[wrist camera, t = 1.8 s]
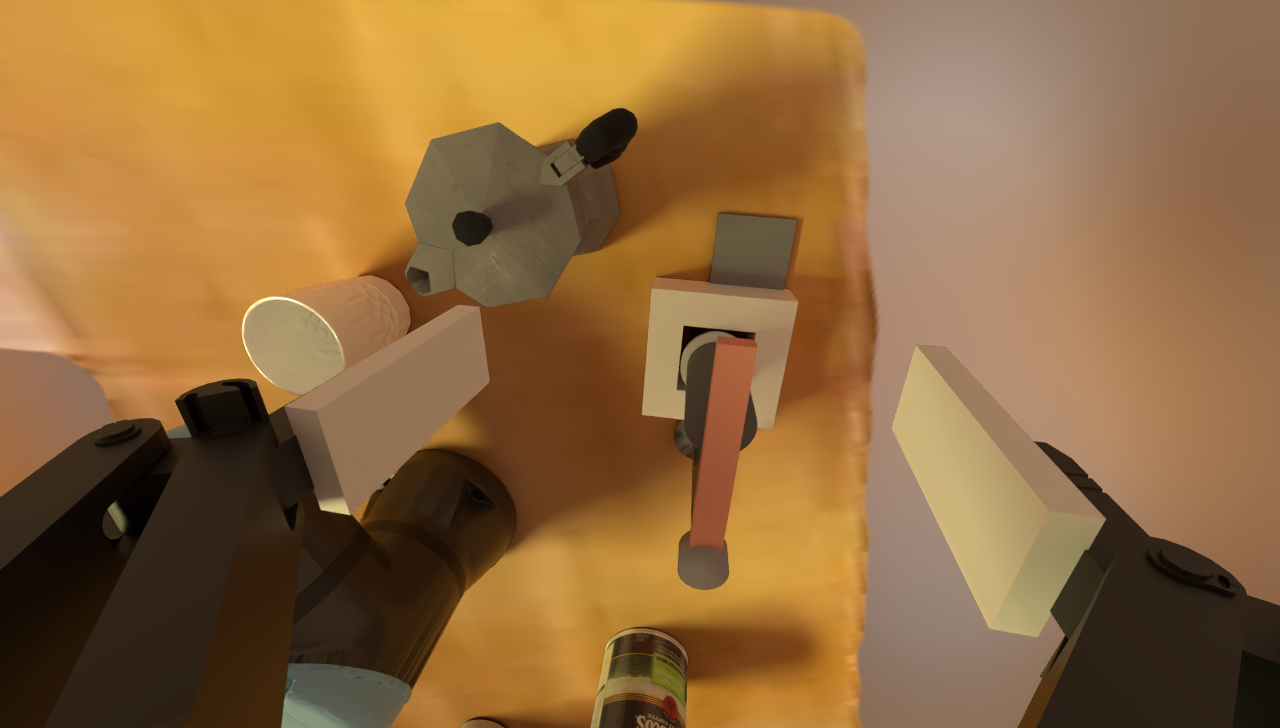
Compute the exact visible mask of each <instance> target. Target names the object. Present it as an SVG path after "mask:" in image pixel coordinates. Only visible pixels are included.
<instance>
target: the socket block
mask: <svg viewBox="0 0 1280 728" xmlns="http://www.w3.org/2000/svg"><path fill="white" fill-rule="evenodd" d="M797 307H798V301H797V299H796V298H795V297H794V295H793V294H792V293H791V291H790V290H789V289H784V290H777V289H766V288H755V287H744V286H733V285H722V284H712V283H710V282H705V281H694V280H683V279H672V278H661V277H656V278H655V281H654V284H653V286H652V291H651V304H650V316H649V329H648V342H647V355H646V367H645V380H644V393H643V406H642V415H647V416H656V417H665V418H673V419H682V420H684V414H685V395H686V385H685V383H684V381H683V379H682V376H681V371H679V362H680V353H681V344H682V334H683V326H693V327H703V328H713V329H723V330H734V331H744V332H748V337H747V339H750V340H755V342H756V345H757V354H756V360H755V365H754V371H753V377H752V382H751V388H750V391H751V395H752V400H753V404H754V408H755V412H756V417H757V428H761V429H770V430H773V425H774V420H775V415H776V410H777V405H778V401H779V396H780V391H781V386H782V381H783V376H784V371H785V366H786V361H787V356H788V351H789V346H790V342H791V337H792V332H793V327H794V322H795V317H796V312H797Z"/></svg>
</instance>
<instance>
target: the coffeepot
mask: <svg viewBox="0 0 1280 728" xmlns="http://www.w3.org/2000/svg"><path fill="white" fill-rule="evenodd" d="M637 128H638V127H637V119H636V117H635V116H634V114H633V113H632V112H630V111H628V110H626V109H625V108H618V109H613V110H611V111H609V112H608V113H606V114H604V115H602V116H601V117H599V118H597V119H595V120H594V121H592V122H591V123H590V124H589V125H588V126H587V127H586V128H585V129H584V130H583V131H582V132H581V134H580V135H579V137H578V139H577V140H576V141H574V140H573V139H569V140H565V141H561V142H556V143H552V144H548V145H544V146H540V147H535V146H533V145H532V144H530V143H529V142H527V141H526V140H524V139H522V138H521V137H520V136H518V135H517V134H515V133H514V132H512V131H511V130H510V129H508V128H507V127H505V126H504V125H502V124H501V123H499V122H498V123H494V124H490V125H486V126H482V127H478V128H475V129H471V130H467V131H463V132H459V133H455V134H451V135H447V136H444V137H440V138H436V139H432V140H431V141H430V144H429V146H428V149H427V151H426V153H425V156H424V158H423V161H422V163H421V166H420V168H419V171H418V173H417V176H416V178H415V180H414V183H413V185H412V188H411V190H410V193H409V195H408V198H407V200H406V202H405V205H406V208H407V211H408V213H409V216H410V219H411V222H412V224H413V227H414V230H415V232H416V235H417V238H418V241H419V243H418V244H417V246H416V248H415V250H414V252H413V254H412V256H411V258H410V260H409V262H408V264H407V265H408V266H407V268H406V270H405V276H406V278H407V280H408V282H409V284H410V285H411V286H412V287H413V288H414V290H415V291H416V292H418V293H419V294H420V295H422V296H429V295H432V294H436V293H439V292H443V291H446V290H450V289H454V288H457V289H458V290H460V291H461V292H463V293H464V294H466V295H468V296H469V297H471V298H472V299H474V300H475V301H477V302H479V303H480V304H482V305H483V306H485V307H486V308H490V307H495V306H500V305H506V304H511V303H517V302H522V301H528V300H533V299H538V298H544V297H548V296H549V295H550V293H551V291H552V289H553V288H554V286H555V284H556V283H557V281H558V279H559V277H560V276H561V274H562V272H563V271H564V269H565V267H566V266H567V264H568V262H569V260H570V259H571V257H572V256H576V255H581V254H586V253H591V252H596V251H599V249H600V247H601V246H602V244H603V242H604V241H605V239H606V238H607V236H608V234H609V233H610V231H611V229H612V228H613V226H614V224H615V223H616V221H617V219H618V218H619V216H620V214H621V212H620V207H619V202H618V196H617V190H616V187H615V183H614V179H613V174H612V169H611V166H610V165H608V164H609V163H611V162H613V161H614V160H616V159H617V158H619V157H620V156H621V154H622V152H623V151H624V150H625V149H626V147H627V145H628V143H629V142H630V140H631V139H632V138H633V137H634V135H635V134H636V131H637Z"/></svg>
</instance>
